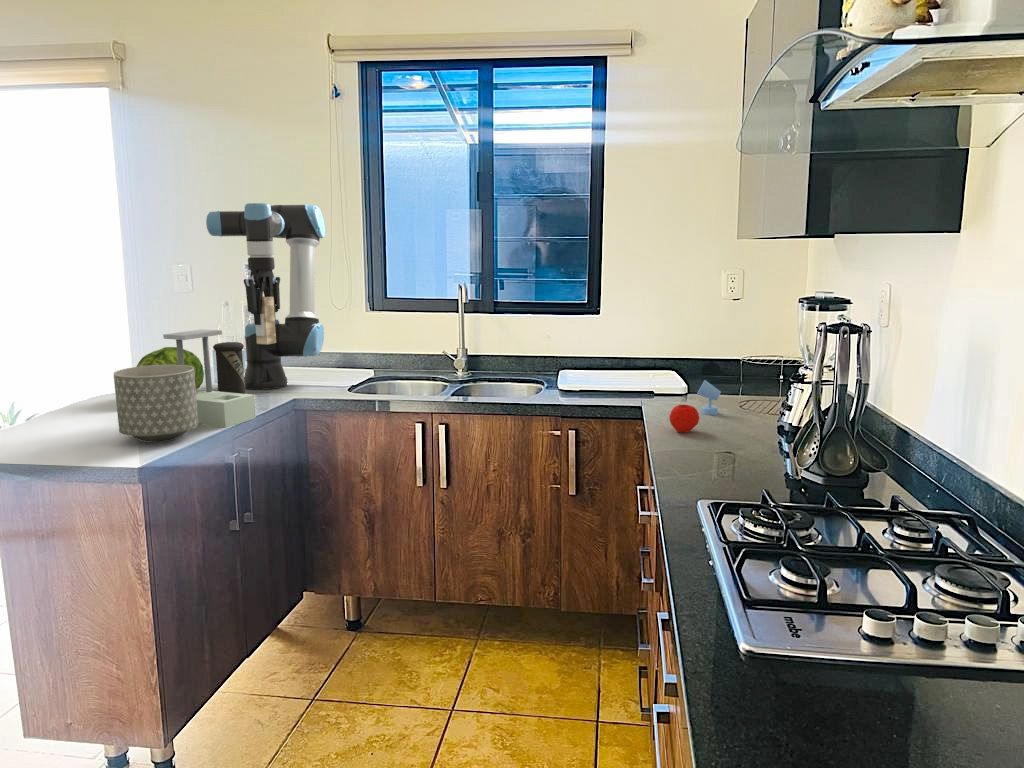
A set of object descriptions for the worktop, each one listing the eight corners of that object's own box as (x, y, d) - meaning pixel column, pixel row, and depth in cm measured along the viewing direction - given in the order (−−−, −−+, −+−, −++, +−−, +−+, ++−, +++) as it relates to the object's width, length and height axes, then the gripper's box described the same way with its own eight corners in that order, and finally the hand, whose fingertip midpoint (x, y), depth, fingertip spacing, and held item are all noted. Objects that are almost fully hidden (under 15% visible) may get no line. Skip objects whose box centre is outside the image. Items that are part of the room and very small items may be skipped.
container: (238, 408, 241) (233, 344, 237) (212, 407, 243) (207, 343, 239) (252, 402, 249) (248, 340, 246) (227, 401, 251) (222, 340, 247)
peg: (265, 342, 239) (262, 296, 237) (276, 342, 238) (273, 296, 235) (256, 343, 236) (253, 297, 233) (267, 344, 234) (264, 297, 231)
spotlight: (695, 414, 230) (719, 415, 228) (696, 380, 228) (721, 382, 226) (696, 410, 234) (720, 412, 232) (697, 378, 233) (721, 379, 231)
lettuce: (105, 380, 244) (136, 350, 236) (157, 357, 265) (188, 328, 256) (142, 426, 246) (175, 398, 238) (191, 399, 267) (223, 372, 258)
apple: (704, 433, 206) (705, 406, 205) (677, 436, 204) (678, 408, 203) (689, 427, 214) (690, 400, 213) (663, 429, 212) (664, 402, 210)
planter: (146, 429, 215) (140, 364, 212) (212, 430, 213) (207, 364, 210) (104, 446, 197) (97, 376, 193) (175, 448, 195) (169, 377, 191)
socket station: (170, 421, 223) (163, 334, 219) (207, 412, 236) (201, 329, 231) (223, 428, 216) (216, 337, 211) (258, 417, 228) (252, 332, 224)
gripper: (270, 255, 241) (275, 330, 245) (230, 257, 226) (236, 337, 230) (289, 255, 238) (294, 331, 242) (250, 257, 223) (256, 338, 227)
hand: (265, 334), depth 236 cm, fingers closed on peg, 4 cm apart
